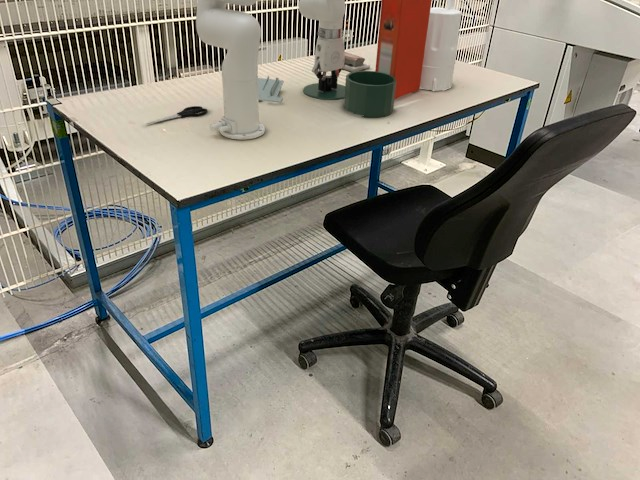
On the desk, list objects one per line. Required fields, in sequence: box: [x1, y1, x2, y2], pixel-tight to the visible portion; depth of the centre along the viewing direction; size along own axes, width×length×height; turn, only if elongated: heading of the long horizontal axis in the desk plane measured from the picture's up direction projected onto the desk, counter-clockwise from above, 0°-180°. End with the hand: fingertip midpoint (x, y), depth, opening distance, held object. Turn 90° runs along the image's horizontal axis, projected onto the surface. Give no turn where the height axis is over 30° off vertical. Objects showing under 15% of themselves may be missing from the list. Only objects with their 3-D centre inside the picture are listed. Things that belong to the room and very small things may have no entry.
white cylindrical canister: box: [419, 0, 462, 92], centre depth 183 cm, size 15×15×33 cm
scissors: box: [146, 105, 209, 125], centre depth 153 cm, size 7×1×20 cm
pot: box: [343, 70, 397, 119], centre depth 164 cm, size 16×16×10 cm
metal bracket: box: [258, 75, 285, 103], centre depth 173 cm, size 14×6×15 cm
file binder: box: [374, 0, 433, 100], centre depth 173 cm, size 8×17×32 cm, turn 139°
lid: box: [302, 75, 345, 101], centre depth 176 cm, size 17×17×6 cm
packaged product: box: [341, 51, 371, 73], centre depth 207 cm, size 18×5×10 cm
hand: (327, 88), depth 177 cm, fingers open, 4 cm apart
